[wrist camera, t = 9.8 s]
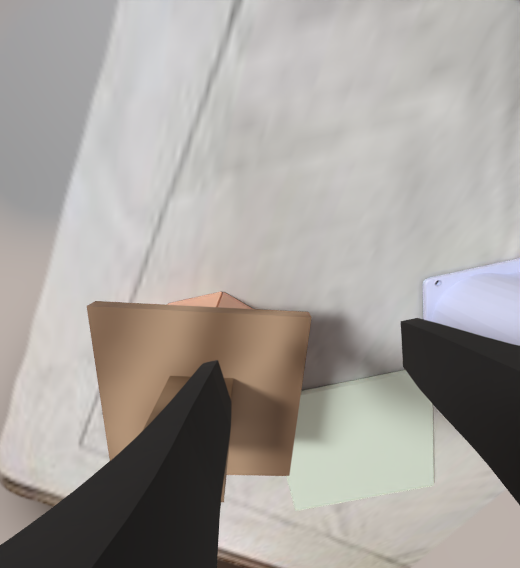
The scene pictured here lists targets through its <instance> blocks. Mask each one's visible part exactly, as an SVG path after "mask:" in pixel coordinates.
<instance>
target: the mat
mask: <svg viewBox="0 0 520 568" xmlns="http://www.w3.org/2000/svg"><path fill="white" fill-rule="evenodd" d="M286 477H287V481H288V485H289V489H290V492H291V496H292V500H293V504H294V508H295V511H299V510H305V509H310V508H316V507H321V506H326V505H332V504H337V503H343V502H348V501H354V500H359V499H364V498H370V497H375V496H381V495H386V494H392V493H397V492H402V491H408V490H413V489H419V488H424V487H430V486H434V465H433V404H432V403H431V401H430V400H429V399H428V398H427V397H426V396H425V395H424V394H423V393H422V392H421V390H420V389H419V388H418V386H417V385H416V384H415V382H414V381H413V380H412V378H411V377H410V375H409V374H408V373H407V371H406V370H402V371H397V372H392V373H387V374H382V375H377V376H372V377H368V378H363V379H358V380H353V381H348V382H343V383H338V384H333V385H328V386H323V387H318V388H313V389H308V390H303V391H301V396H300V403H299V411H298V418H297V425H296V432H295V439H294V446H293V454H292V461H291V468H290V475H289V476H286Z"/></svg>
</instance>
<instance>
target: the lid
mask: <svg viewBox="0 0 520 568" xmlns="http://www.w3.org/2000/svg"><path fill="white" fill-rule="evenodd" d="M87 311H88V318H89V325H90V331H91V338H92V345H93V351H94V358H95V365H96V371H97V378H98V385H99V391H100V398H101V405H102V411H103V418H104V425H105V431H106V438H107V445H108V452H109V458H110V461H111V460H112V459H113V458H114V457H115V456H116V455H118V454H119V453H120V452H121V451H122V450H123V449H124V448H125V447H126V446H127V445H128V444H129V443H131V442H132V441H133V440H134V439H135V438H136V437H137V436H138V435H139V434H140V433H141V432H142V431H143V430H144V429H145V428H146V427H147V426H148V425H149V424H150V423H151V422H152V421H153V420H154V418H155V417H156V416H157V415H158V414H159V413H160V412H161V411H162V410H163V409H164V408H165V407H166V406H167V404H168V403H169V402H170V401H171V400H172V399H173V398H174V397H175V395H176V394H177V393H178V392H179V391H180V389H181V388H182V387H183V386H184V385H185V384H186V382H187V381H188V380H189V379H190V378H191V376H192V375H193V374H194V373H195V372H196V370H197V369H198V368H199V367H200V366H201V365H202V364H203V363H206V362H210V361H215V360H218V361H219V364H220V367H221V371H222V374H223V377H224V380H225V383H226V386H227V390H228V393H229V396H230V399H231V430H230V438H229V445H228V453H227V460H226V467H225V474H224V481H223V489H222V496H221V502H224V494H225V484H226V475H265V476H289V475H290V468H291V461H292V454H293V446H294V439H295V432H296V425H297V418H298V411H299V403H300V396H301V389H302V382H303V375H304V368H305V360H306V353H307V346H308V339H309V332H310V325H311V318H312V317H311V316H310V314H309V312H299V311H279V310H259V309H240V308H220V307H200V306H181V305H161V304H141V303H122V302H102V301H95V302H93V303H91V304H90V305H88V306H87Z"/></svg>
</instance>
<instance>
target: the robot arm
mask: <svg viewBox="0 0 520 568" xmlns="http://www.w3.org/2000/svg"><path fill="white" fill-rule="evenodd" d="M436 281H438V283H437V284H436V285H435V282H436ZM423 318H424V319H419V318H415V319H410V320H406V321H401V334H402V353H403V367H404V368H405V370H406V371H407V373H408V374H409V375H410V377H411V378H412V380H413V381H414V382H415V384H416V385H417V386H418V388H419V389H420V390H421V392H422V393H423V394H424V395H425V396H426V397H427V398H428V399H429V400H430V401H431V403H432V404H433V405H434V406H435V407H436V408H437V409H438V410H439V411H440V412H441V413H442V415H443V416H444V417H445V418H446V419H447V420H448V421H449V422H450V423H451V424H452V425H453V426H454V427H455V429H456V430H457V431H458V432H459V433H460V434H461V435H462V436H463V437H464V438H465V439H466V440H467V441H468V443H469V444H470V445H471V446H472V447H473V448H474V449H475V450H476V451H477V453H478V454H479V455H480V456H481V457H482V458H483V459H484V461H485V462H486V463H487V464H488V465H489V467H490V468H491V469H492V470H493V472H494V473H495V474H496V475H497V477H498V478H499V479H500V481H501V482H502V483H503V484H504V486H505V487H506V488H507V489H508V491H509V492H510V493H511V494H512V496H513V497H514V498H515V500H516V501H517V502H518V503H519V505H520V258H518V259H513V260H509V261H504V262H499V263H495V264H490V265H485V266H481V267H476V268H471V269H467V270H462V271H458V272H453V273H448V274H444V275H439V276H434V277H430V278H427V279H425V280H424V282H423ZM230 430H231V399H230V396H229V393H228V390H227V386H226V383H225V380H224V377H223V374H222V371H221V367H220V364H219V361H218V360H215V361H210V362H206V363H203V364H202V365H201V366H200V367H199V368H198V369H197V370H196V372H195V373H194V374H193V375H192V376H191V378H190V379H189V380H188V381H187V382H186V384H185V385H184V386H183V387H182V388H181V389H180V391H179V392H178V393H177V394H176V395H175V397H174V398H173V399H172V400H171V401H170V402H169V403H168V404H167V406H166V407H165V408H164V409H163V410H162V411H161V412H160V413H159V414H158V415H157V416H156V417H155V418H154V420H153V421H152V422H151V423H150V424H149V425H148V426H147V427H146V428H145V429H144V430H143V431H142V432H141V433H140V434H139V435H138V436H137V437H136V438H135V439H134V440H133V441H132V442H131V443H129V444H128V445H127V446H126V447H125V448H124V449H123V450H122V451H121V452H120V453H119V454H118V455H116V456H115V457H114V458H113V459H112V460H111V461H110V462H108V463H107V464H106V465H105V466H104V467H102V468H101V469H100V470H99V471H98V472H96V473H95V474H94V475H93V476H92V477H90V478H89V479H88V480H87V481H86V482H84V483H83V484H82V485H81V486H80V487H78V488H77V489H76V490H75V491H73V492H72V493H71V494H70V495H68V496H67V497H66V498H64V499H63V500H62V501H61V502H59V503H58V504H57V505H55V506H54V507H53V508H51V509H50V510H49V511H47V512H46V513H45V514H43V515H42V516H41V517H39V518H38V519H37V520H35V521H34V522H33V523H31V524H30V525H28V526H27V527H26V528H24V529H23V530H21V531H20V532H19V533H17V534H16V535H15V536H13V537H12V538H10V539H9V540H7V541H6V542H4V543H3V544H1V545H0V568H217V553H218V535H219V517H220V506H221V496H222V489H223V481H224V474H225V467H226V460H227V453H228V445H229V438H230Z"/></svg>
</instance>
